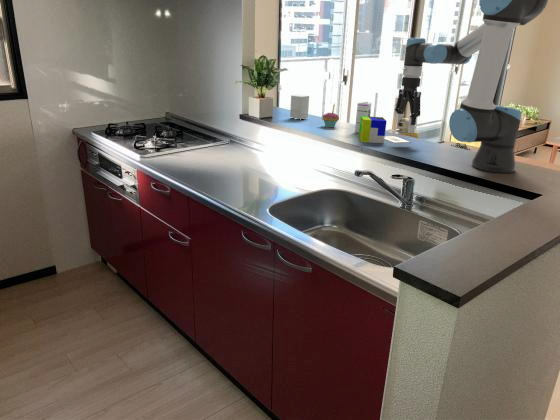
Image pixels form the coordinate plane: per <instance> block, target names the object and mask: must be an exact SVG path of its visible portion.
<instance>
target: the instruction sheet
mask: <svg viewBox="0 0 560 420" xmlns="http://www.w3.org/2000/svg"><path fill="white" fill-rule="evenodd" d="M384 141H388V142H391V143H394V144H399V143H400V144H401V143H410V141H409V140H407V139H403V138H401V137H398V136H396V135H385V138H384Z"/></svg>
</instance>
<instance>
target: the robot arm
mask: <svg viewBox="0 0 560 420" xmlns="http://www.w3.org/2000/svg"><path fill="white" fill-rule="evenodd" d="M548 1H549V0H479V2H478V5H479V9H480V11H481V12H482V14H483V15H482V16H483V17H482V22H483V23H482V24H480V25H479V26H477V28H476V29H473V30H472V31H471V32H470V33H468V34H466V35H465V36H464V37H463V38H461V39H460V40H458V41H456V42H455V43H452V44H451V43H440V42H429V43H426V42H427V41H426V38H424V37H409V38H407V40H406V45H405V52H404V60H403V68H402V78H401V87H403V88H399V89H398V96H397V100H396V105H395V108H394V109H395V110H394V111H395V112H396V114H397V117H396V118H397V119H396V126H395V127H396V129H395V130H402V128H401V127H397V126H398V122H397V121H400V120H401V121H405V119H399V118H405V110H406V108H407V107H406V106H407V104H409V109H410V110H409V111H410V115H409V120H408V121H409V126H408V133H407V134H415V133H414V131H416V130H415V129H416V128H415V127H416V124H417V120H416V119H417V118H418V117H421V97H422V92H421V91H418V88H420V86H421V79H422V78H421V77H422V73H423V63H425V64H431V65H433V64H434V65H437V64H443V65H445V64H446V65H447V64H448V65H466V64H467V63H469V62H470V61H471V59H472V57H473V55H474V54H476V53H477V52H478V55H477V58H476V63H475V66H474V70H473V72H472V73H473V74H472V78H471V80H470V85H469V88H468V93H467V97H466V98H464V99H463V100H462V101H461V102H460V106H459V108H457V109H455V110H454V111H453V112H452V113H451V114H450V117H449V121H448V127H449V132H451V135H452V137H453V138H454V139H455V140H456V141H458V142H461V143H469V144H470V143H478V142H479V143H480V146H479V148H478V149H477V152H476V153H475V156H474V157H473V158H472V161H471V167H474V168H475V169H478V170H481V171H485V172H490V173H499V174H509V173H510V174H511V173H513V172H515V169H516V162H515V161H516V160H515V159H516V158H515V147H516V142H517V137H518V134H519V129H520V126H521V121H522V120H521V119H522V111H521V109H518V108H514V107H513V108H512V107H507V106H503V105H498V104H497V105H496V104H494V99H495V95H496V91H497V88H498V85H499V80H500V77H501V74H502V70H503V68H504V63H505V60H506V57H507V53H508V49H509V45H510V43H511V39H512V35H513V32H514V29H515V28H516V27H518V26H525V25H526V24H528V23H531V22H532V21H533V20H534V19H536V18H537V17H538V16H540V14H542V12H543V11H544V9H545V8H546V7H547V5H548Z"/></svg>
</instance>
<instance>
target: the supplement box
mask: <svg viewBox="0 0 560 420" xmlns="http://www.w3.org/2000/svg"><path fill="white" fill-rule="evenodd" d="M290 97H291V98H290V110H289V113H290V114H289V118H290V117H293V118H297V119H300V120H299V121H302V120H301V119H306V118H308V119H309V107H310V106H309V105H310V95H306V94H305V95H304V94H292V95H290ZM306 120H307V119H306Z"/></svg>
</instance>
